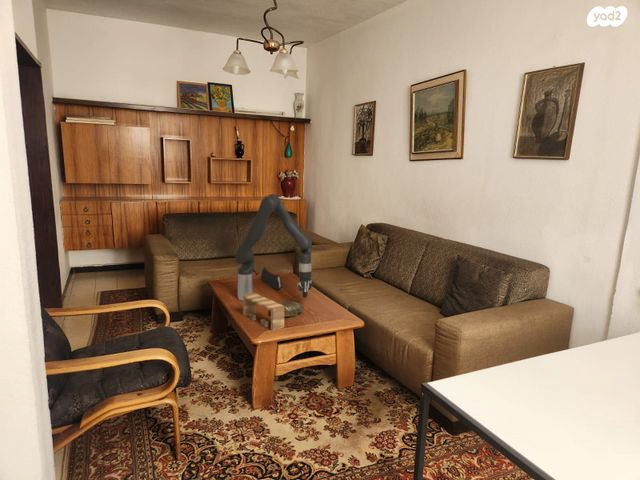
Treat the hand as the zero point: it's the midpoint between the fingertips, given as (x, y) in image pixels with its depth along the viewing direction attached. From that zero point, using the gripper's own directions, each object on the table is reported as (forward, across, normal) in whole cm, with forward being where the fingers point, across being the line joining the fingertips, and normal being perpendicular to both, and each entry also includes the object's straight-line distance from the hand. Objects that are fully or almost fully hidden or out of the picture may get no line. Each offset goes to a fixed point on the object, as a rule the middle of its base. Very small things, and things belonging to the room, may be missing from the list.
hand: (304, 297), depth 250 cm
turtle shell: (+8, +14, 0) cm, 16 cm away
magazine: (+7, -12, -51) cm, 53 cm away
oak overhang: (+7, +31, 0) cm, 32 cm away
